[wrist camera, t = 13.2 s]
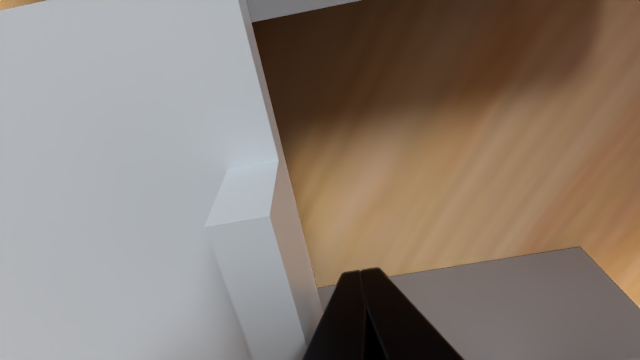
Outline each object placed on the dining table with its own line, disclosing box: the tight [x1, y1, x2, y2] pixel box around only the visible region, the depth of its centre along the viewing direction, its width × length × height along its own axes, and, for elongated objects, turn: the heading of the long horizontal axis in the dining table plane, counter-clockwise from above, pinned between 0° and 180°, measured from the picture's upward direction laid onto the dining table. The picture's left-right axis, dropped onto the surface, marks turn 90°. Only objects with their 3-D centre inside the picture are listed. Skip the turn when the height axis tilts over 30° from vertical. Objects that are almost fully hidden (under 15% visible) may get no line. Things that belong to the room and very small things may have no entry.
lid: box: [0, 0, 323, 360], centre depth 9 cm, size 13×11×3 cm
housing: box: [246, 0, 640, 360], centre depth 12 cm, size 13×24×5 cm, turn 101°
